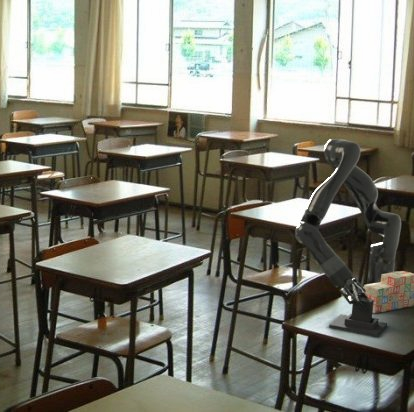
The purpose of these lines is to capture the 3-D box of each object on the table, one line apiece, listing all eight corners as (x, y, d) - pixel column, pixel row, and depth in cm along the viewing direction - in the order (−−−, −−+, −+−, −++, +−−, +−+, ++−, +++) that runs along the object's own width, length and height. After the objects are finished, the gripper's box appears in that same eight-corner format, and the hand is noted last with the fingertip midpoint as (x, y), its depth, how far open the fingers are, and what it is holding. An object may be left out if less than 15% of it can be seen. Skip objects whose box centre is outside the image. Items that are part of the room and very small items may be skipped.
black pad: (353, 321, 302) (356, 296, 300) (371, 324, 298) (373, 299, 297) (350, 324, 298) (352, 299, 296) (368, 327, 295) (371, 302, 293)
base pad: (340, 317, 309) (341, 308, 308) (386, 326, 301) (387, 317, 300) (328, 327, 298) (329, 318, 297) (377, 337, 289) (377, 328, 288)
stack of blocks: (375, 313, 314) (378, 281, 311) (361, 309, 319) (364, 276, 317) (413, 305, 325) (417, 274, 322) (399, 301, 330) (403, 270, 328)
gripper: (338, 268, 292) (370, 307, 289) (350, 260, 304) (380, 297, 300) (321, 281, 296) (352, 319, 292) (333, 272, 308) (363, 309, 304)
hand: (367, 308), depth 296 cm, fingers open, 8 cm apart
